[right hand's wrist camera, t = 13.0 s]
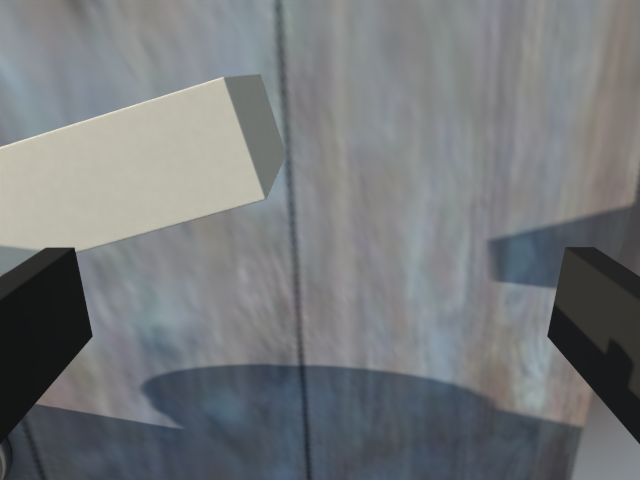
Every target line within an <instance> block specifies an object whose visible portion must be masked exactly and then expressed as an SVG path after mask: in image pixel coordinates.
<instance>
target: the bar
mask: <svg viewBox="0 0 640 480" xmlns="http://www.w3.org/2000/svg"><path fill="white" fill-rule="evenodd" d="M285 156H286V154H285V150H284V147H283V144H282V141H281V138H280V135H279V131H278V128H277V125H276V122H275V119H274V115H273V112H272V109H271V106H270V103H269V100H268V96H267V93H266V90H265V87H264V84H263V81H262V77H261V75H260V74H256V75H243V76H230V77H222V78H218V79H215V80H212V81H209V82H206V83H202V84H199V85H196V86H193V87H190V88H187V89H183V90H180V91H177V92H174V93H171V94H168V95H164V96H161V97H158V98H155V99H152V100H148V101H145V102H142V103H139V104H136V105H133V106H129V107H126V108H123V109H120V110H117V111H114V112H110V113H107V114H104V115H101V116H98V117H94V118H91V119H88V120H85V121H82V122H79V123H75V124H72V125H69V126H66V127H63V128H60V129H56V130H53V131H50V132H47V133H44V134H40V135H37V136H34V137H31V138H28V139H25V140H21V141H18V142H15V143H12V144H9V145H6V146H2V147H0V274H3V273H7V272H8V271H10V270H12V269H13V268H15V267H16V266H18V265H19V264H21V263H22V262H24V261H26V260H27V259H29V258H30V257H32V256H33V255H35V254H36V253H38V252H40V251H41V250H43V249H44V248H46V247H75V252H76V253H78V252H81V251H85V250H88V249H92V248H95V247H99V246H103V245H106V244H110V243H113V242H117V241H120V240H124V239H127V238H131V237H135V236H138V235H142V234H145V233H149V232H152V231H156V230H159V229H163V228H167V227H170V226H174V225H177V224H181V223H184V222H188V221H191V220H195V219H198V218H202V217H206V216H209V215H213V214H216V213H220V212H223V211H227V210H230V209H234V208H238V207H241V206H245V205H248V204H252V203H255V202H259V201H262V200H265V199H266V198H267V196H268V194H269V192H270V189H271V187H272V185H273V183H274V180H275V178H276V176H277V174H278V171H279V169H280V167H281V165H282V162H283V160H284V158H285Z"/></svg>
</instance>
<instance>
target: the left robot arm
mask: <svg viewBox="0 0 640 480" xmlns="http://www.w3.org/2000/svg"><path fill="white" fill-rule="evenodd" d="M11 462H12V454H11V448H10V445H9V442H8V440H7V438H5V439H4V440H3V441H2V443H1V444H0V480H4V478H5V477H6V476H7V474H8V472H9V470H10V467H11Z"/></svg>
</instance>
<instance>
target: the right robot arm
mask: <svg viewBox="0 0 640 480" xmlns="http://www.w3.org/2000/svg"><path fill="white" fill-rule="evenodd" d="M92 337H93V335H92V331H91V326H90V321H89V316H88V311H87V306H86V301H85V296H84V291H83V286H82V281H81V277H80V272H79V267H78V262H77V257H76V252H75V247H46V248H44V249H43V250H41V251H40V252H38V253H36V254H35V255H33V256H32V257H30V258H29V259H27V260H26V261H24V262H22V263H21V264H19V265H18V266H16V267H15V268H13V269H12V270H10V271H8V272H7V273H5V274H4V275H2V276H1V277H0V444H1V443H2V441H3V440H4V439H5V438H6V437H7V436H8V434H9V433H10V432H11V431H12V430H13V429H14V427H15V426H16V425H17V424H18V423H19V422H20V420H21V419H22V418H23V417H24V416H25V415H26V413H27V412H28V411H29V410H30V409H31V408H32V406H33V405H34V404H35V403H36V402H37V401H38V399H39V398H40V397H41V396H42V395H43V394H44V393H45V391H46V390H47V389H48V388H49V387H50V386H51V384H52V383H53V382H54V381H55V380H56V379H57V377H58V376H59V375H60V374H61V373H62V372H63V370H64V369H65V368H66V367H67V366H68V365H69V363H70V362H71V361H72V360H73V359H74V358H75V356H76V355H77V354H78V353H79V352H80V351H81V349H82V348H83V347H84V346H85V345H86V344H87V342H88V341H89V340H90V339H91V338H92ZM547 337H548V338H549V339H550V340H551V341H552V342H553V344H554V345H555V346H556V347H557V348H558V349H559V351H560V352H561V353H562V354H563V355H564V356H565V358H566V359H567V360H568V361H569V362H570V363H571V365H572V366H573V367H574V368H575V369H576V370H577V372H578V373H579V374H580V375H581V376H582V377H583V379H584V380H585V381H586V382H587V383H588V384H589V386H590V387H591V388H592V389H593V390H594V391H595V393H596V394H597V395H598V396H599V397H600V398H601V400H602V401H603V402H604V403H605V404H606V405H607V406H608V408H609V409H610V410H611V411H612V412H613V413H614V415H615V416H616V417H617V418H618V419H619V420H620V422H621V423H622V424H623V425H624V426H625V427H626V429H627V430H628V431H629V432H630V433H631V434H632V436H633V437H634V438H635V439H636V440H637V441H638V443H639V444H640V277H639V276H638V275H636V274H635V273H633V272H632V271H630V270H628V269H627V268H625V267H624V266H622V265H621V264H619V263H618V262H616V261H614V260H613V259H611V258H610V257H608V256H607V255H605V254H604V253H602V252H600V251H599V250H597V249H596V248H594V247H565V252H564V257H563V262H562V267H561V272H560V277H559V281H558V286H557V291H556V296H555V301H554V306H553V311H552V316H551V321H550V326H549V331H548V335H547Z"/></svg>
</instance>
